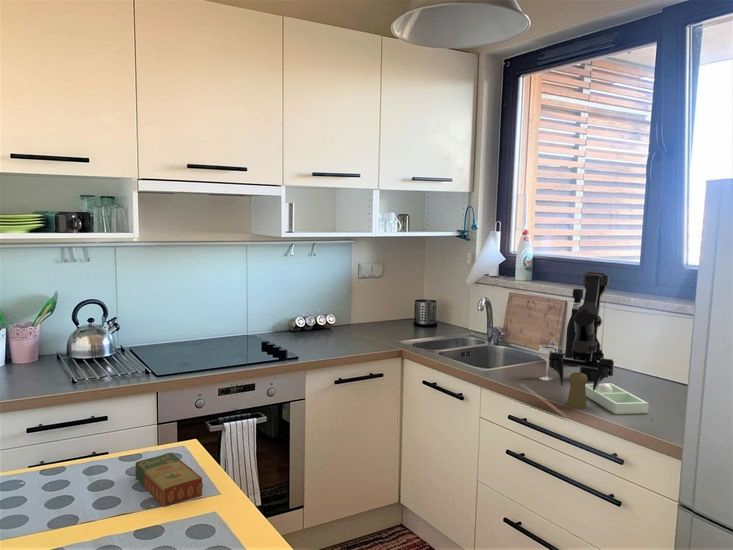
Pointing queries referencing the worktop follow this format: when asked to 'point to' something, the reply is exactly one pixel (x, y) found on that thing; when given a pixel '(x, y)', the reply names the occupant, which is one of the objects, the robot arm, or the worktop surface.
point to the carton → (168, 479)
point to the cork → (577, 390)
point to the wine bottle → (571, 327)
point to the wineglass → (547, 355)
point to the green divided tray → (617, 400)
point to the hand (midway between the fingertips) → (577, 387)
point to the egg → (605, 388)
